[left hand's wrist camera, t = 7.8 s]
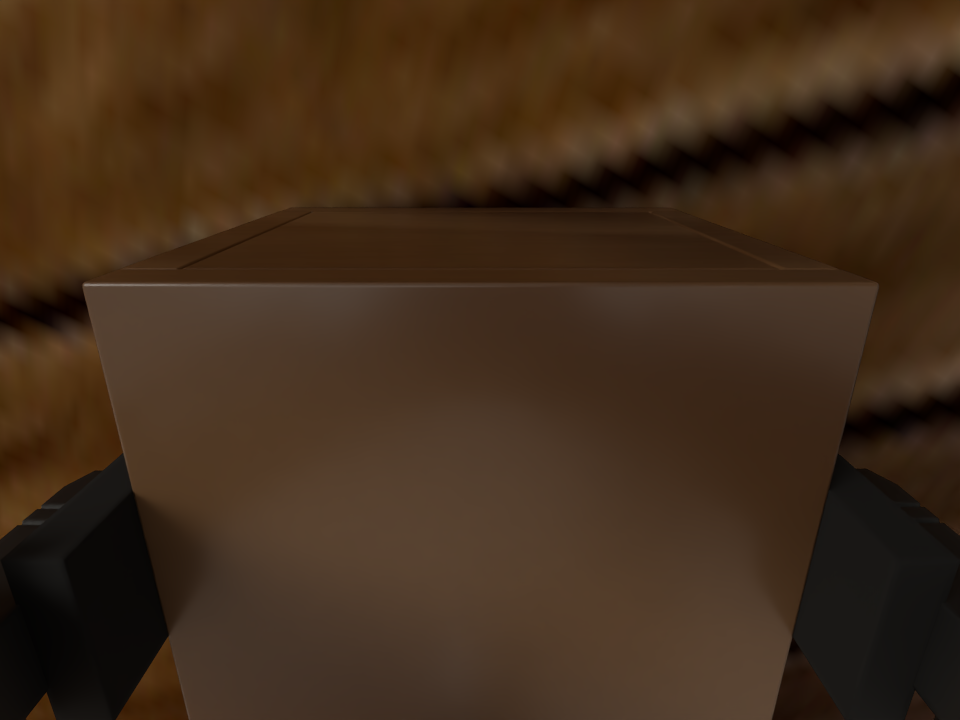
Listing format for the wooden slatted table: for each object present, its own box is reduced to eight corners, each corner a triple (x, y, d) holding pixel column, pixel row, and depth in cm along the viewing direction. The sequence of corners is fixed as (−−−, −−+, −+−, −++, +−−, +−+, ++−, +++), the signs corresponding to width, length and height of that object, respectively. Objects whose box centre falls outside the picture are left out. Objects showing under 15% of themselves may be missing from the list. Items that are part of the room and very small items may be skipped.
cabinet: (610, 755, 22) (680, 1092, 14) (350, 755, 22) (279, 1091, 14) (672, 207, 15) (883, 282, 7) (288, 207, 15) (78, 282, 7)
